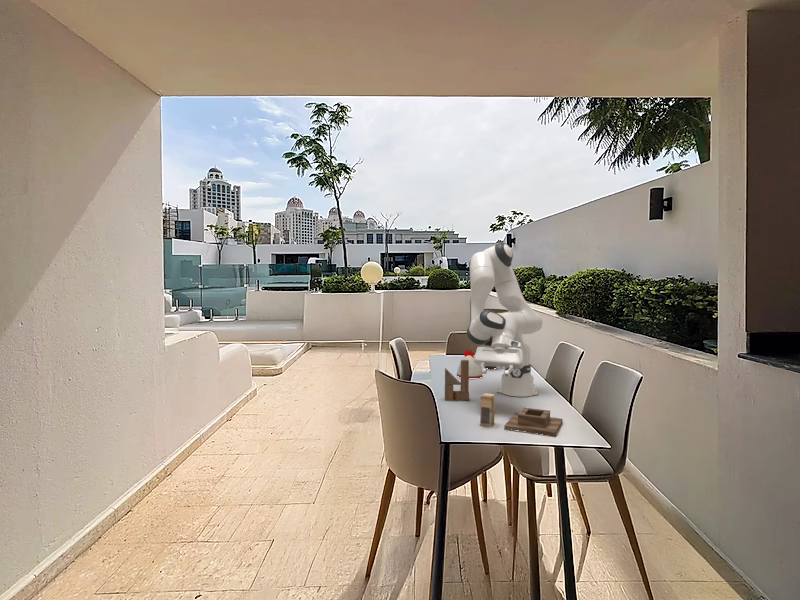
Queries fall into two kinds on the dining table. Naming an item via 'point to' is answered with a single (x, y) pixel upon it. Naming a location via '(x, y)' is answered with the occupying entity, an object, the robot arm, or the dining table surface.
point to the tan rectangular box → (487, 409)
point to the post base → (534, 422)
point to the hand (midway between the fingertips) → (495, 374)
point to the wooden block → (457, 383)
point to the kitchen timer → (470, 366)
